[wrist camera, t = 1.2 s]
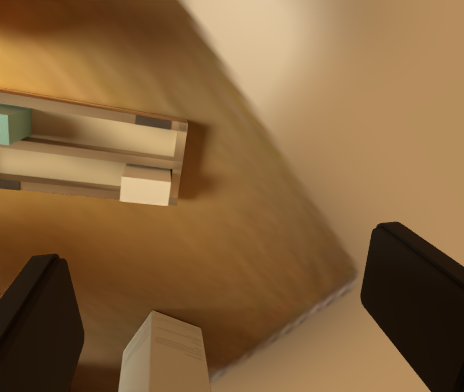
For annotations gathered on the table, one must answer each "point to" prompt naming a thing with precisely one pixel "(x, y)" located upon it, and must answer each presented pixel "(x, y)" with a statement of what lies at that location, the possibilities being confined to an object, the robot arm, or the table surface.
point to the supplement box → (165, 358)
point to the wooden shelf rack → (88, 147)
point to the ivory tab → (145, 185)
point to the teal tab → (14, 123)
